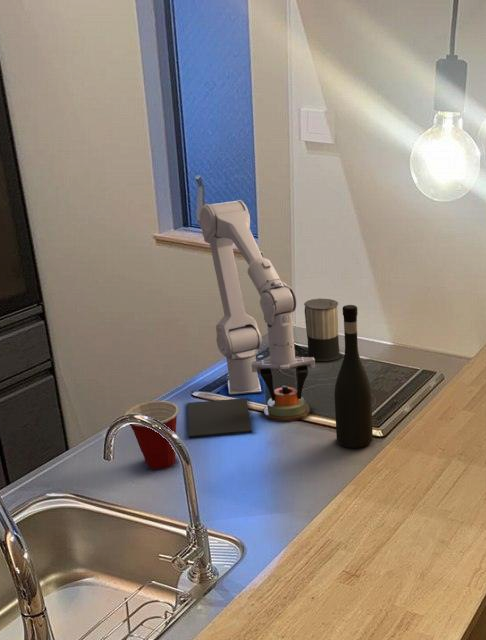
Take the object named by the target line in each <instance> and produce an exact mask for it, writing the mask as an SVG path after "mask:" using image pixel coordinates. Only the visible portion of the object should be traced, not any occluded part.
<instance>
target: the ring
mask: <svg viewBox="0 0 486 640" xmlns="http://www.w3.org/2000/svg"><path fill="white" fill-rule="evenodd" d="M273 391H274V396H275V401H274V402H275V404H277V405H280V406H291V405H295V404H296V403H298V390H297V387H292V386H288V392H289V393H288V394H283V391H282V386H281V387H277V388H275V389H273Z"/></svg>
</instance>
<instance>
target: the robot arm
mask: <svg viewBox="0 0 486 640" xmlns="http://www.w3.org/2000/svg"><path fill="white" fill-rule="evenodd" d="M198 216H199V222H200V227H201V233H202V237H203V241H204V242H205V243H207V244H209V248H210V252H211V257H212V262H213V266H214V272H215V277H216V281H217V286H218V290H219V294H220V299H221V300H220V301H221V305H222V310H223V316H222V317H221V319H219V322H217V324H216V325H215V331H216V345H217V348H218V351H219V352H220V353H221V354H222V355H223V356H224V357H225V358H226V366H227V374H228V380H227V388H228V395H243V394H245V395H246V394H257V393H262V387H261V382H260V378H259V376H258V372H260V377H261V378H262V381H264V383H265V385H266V387H267V389H268V391H269V395H270V399H272V401H275V396H274V382H273V371H274V370H275V371H276V370H289V369H290V370H291V369H295V376H296V389H297V390H298V399H301V397H302V395H303V393H302V392H303V389H304V385H305V381H306V379H307V378H308V375H309V369H308V368H311V369H315V368H316V361H315V359H314V357H307V356H301V357H295V356H296V350H295V349H294V344H295V337H294V323H293V313H294V312H295V311H296V309H297V298H296V294H295V292H294V289H293V288H292V287H291V286H290V285H288V284H287V283H286V282H284V281H282V279H281V278H280V276H279V274H278V272H277V270H276V269H275V267H274V265H273V263H272V262H271V260H270V259H269V258H265V257H263V255H262V253H261V251H260V248H259V246H258V244H257V242H256V240H255V238H254V237H255V236H254V235H253V233H252V231H251V216H250V212H249V209H248V207H247V205H246V203H244V201H243V200H242V199H237V200H234V201H226V202H219V203H210V204H209V203H205V204H203V205H202V207H201V209H200V212H199V215H198ZM233 244H234V245H235V247H236V248H237V250H238V252H239V253H240V254H241V256H242V257H243V259H244V260H245V262H246V263H247V264H248V267H247V274H248V276H249V279H251V282H252V283H253V287H254V288H255V289H256V291H257V293H258V295H259V296H260V299H259V305H260V308H261V311H262V314H263V320H264V323H265V324H266V327H267V329H266V330H267V339H268V349H269V358H264V359H260V360H257V354H259V350H260V349H261V346H262V342H263V339H262V338H263V337H262V334H261V331H260V330H259V327H258V324H257V320H256V319H255V318H254V317H252V316H251V315H249V314H247V313H246V308H245V303H244V298H243V294H242V289H241V284H240V283H241V282H240V279H239V274H238V268H237V263H236V259H235V253H234V249H233Z"/></svg>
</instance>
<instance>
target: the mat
mask: <svg viewBox="0 0 486 640" xmlns="http://www.w3.org/2000/svg"><path fill="white" fill-rule="evenodd" d="M187 410H188V411H187V415H188V417H187V418H188V438H189V439H196V438H208V437H218V436H231V435H242V434H243V435H244V434H251V433H253V429H252V424H251V418H250V417H251V416H250V412H249V404H248V400H247V397H243V398H231V399H217V400H206V401H205V400H204V401H194V402H193V401H191V402H187Z"/></svg>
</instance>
